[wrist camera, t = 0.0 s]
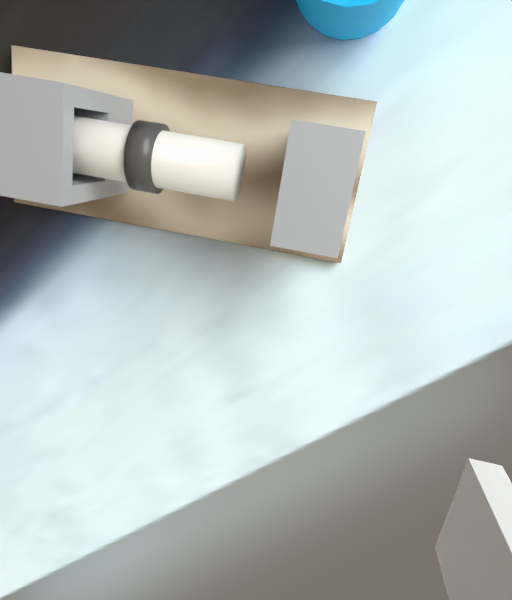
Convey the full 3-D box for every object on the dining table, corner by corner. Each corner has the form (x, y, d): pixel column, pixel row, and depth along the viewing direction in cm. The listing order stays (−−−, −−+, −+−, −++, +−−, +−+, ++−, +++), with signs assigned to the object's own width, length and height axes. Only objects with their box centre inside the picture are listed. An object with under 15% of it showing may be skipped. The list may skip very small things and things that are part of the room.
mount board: (19, 47, 36) (11, 45, 35) (375, 103, 34) (376, 101, 33) (21, 200, 40) (14, 202, 39) (340, 260, 38) (340, 262, 37)
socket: (284, 220, 37) (269, 245, 27) (301, 127, 34) (291, 119, 25) (334, 229, 36) (337, 258, 27) (355, 136, 34) (365, 131, 24)
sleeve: (24, 174, 38) (-74, 181, 29) (24, 82, 36) (-83, 59, 27) (128, 192, 38) (61, 206, 28) (133, 100, 35) (63, 82, 26)
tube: (6, 161, 34) (-39, 163, 30) (5, 97, 32) (-43, 89, 28) (240, 203, 32) (227, 211, 28) (249, 137, 31) (237, 136, 27)
